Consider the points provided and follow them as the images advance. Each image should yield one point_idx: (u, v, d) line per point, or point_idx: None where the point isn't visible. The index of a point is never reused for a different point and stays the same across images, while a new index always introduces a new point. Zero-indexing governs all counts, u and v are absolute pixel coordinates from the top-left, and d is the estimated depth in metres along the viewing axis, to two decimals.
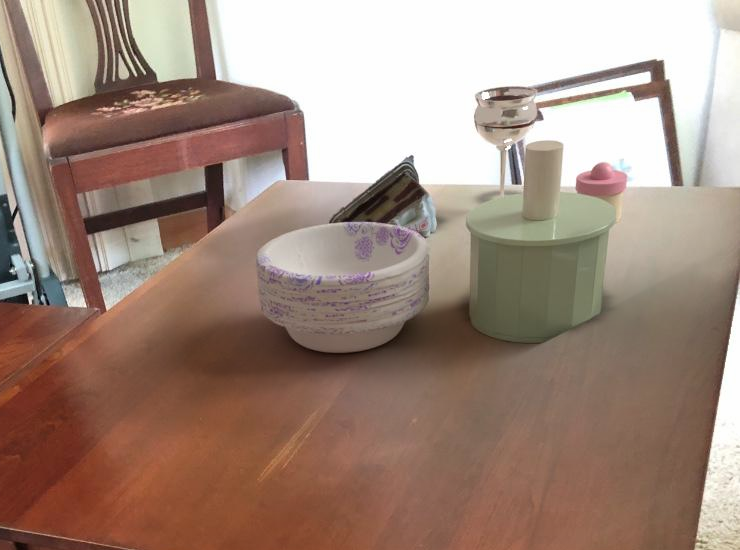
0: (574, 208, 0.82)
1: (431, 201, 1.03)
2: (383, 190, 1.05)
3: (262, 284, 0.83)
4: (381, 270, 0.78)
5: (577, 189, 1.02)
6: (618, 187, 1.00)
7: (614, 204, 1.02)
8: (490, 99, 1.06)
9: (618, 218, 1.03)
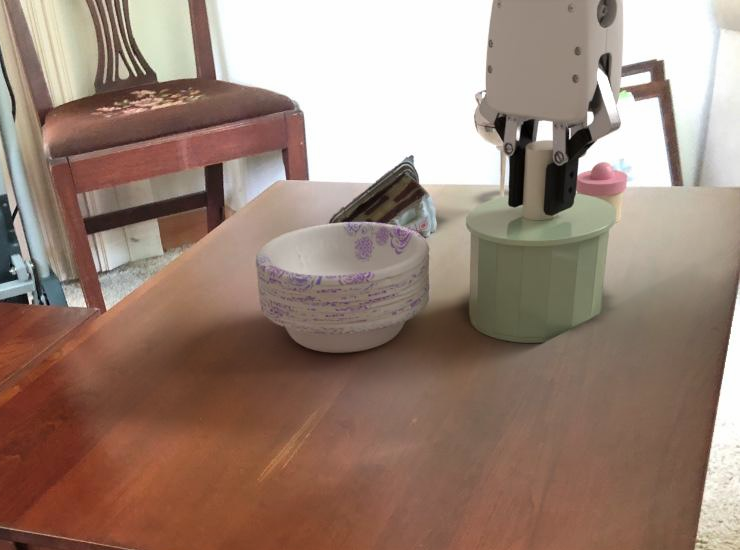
0: (574, 208, 0.82)
1: (431, 201, 1.03)
2: (383, 190, 1.05)
3: (262, 284, 0.83)
4: (381, 270, 0.78)
5: (577, 189, 1.02)
6: (618, 187, 1.00)
7: (614, 204, 1.02)
8: None
9: (618, 218, 1.03)
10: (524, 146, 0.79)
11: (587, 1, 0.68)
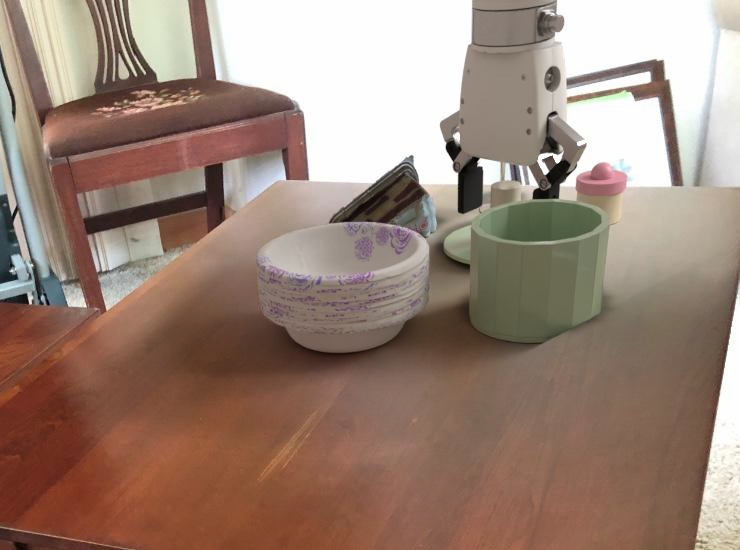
0: None
1: (431, 201, 1.03)
2: (383, 190, 1.05)
3: (262, 284, 0.83)
4: (381, 270, 0.78)
5: (577, 189, 1.02)
6: (618, 187, 1.00)
7: (614, 204, 1.02)
8: None
9: (618, 218, 1.03)
10: (469, 164, 0.98)
11: (536, 72, 0.86)
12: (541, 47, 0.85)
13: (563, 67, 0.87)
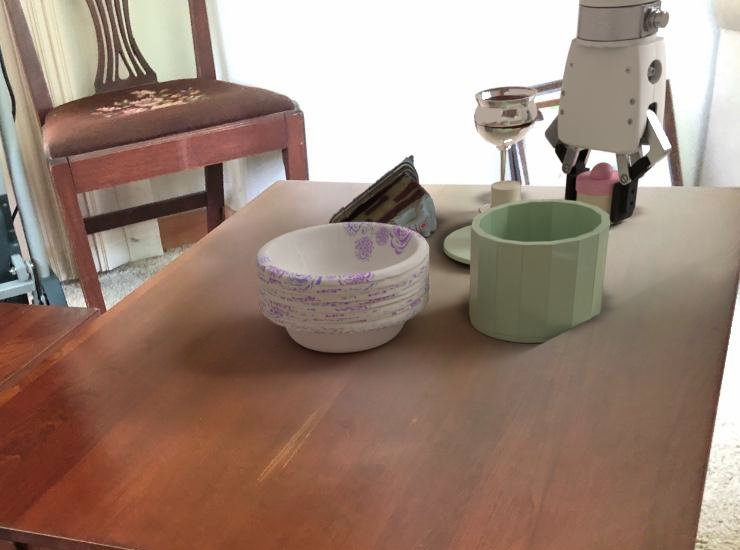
0: None
1: (431, 201, 1.03)
2: (383, 190, 1.05)
3: (262, 284, 0.83)
4: (381, 270, 0.78)
5: (577, 189, 1.02)
6: None
7: None
8: (490, 99, 1.06)
9: None
10: (578, 166, 1.03)
11: (640, 65, 0.91)
12: (645, 42, 0.91)
13: (664, 60, 0.93)
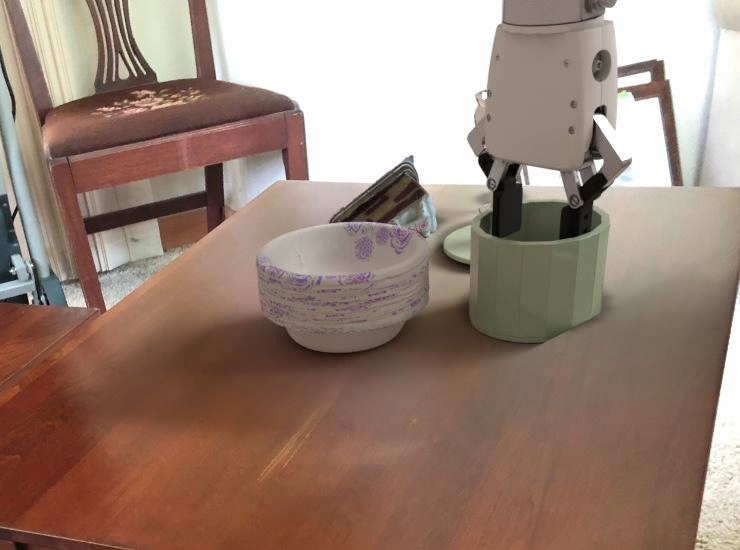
0: None
1: (431, 201, 1.03)
2: (383, 190, 1.05)
3: (262, 284, 0.83)
4: (381, 270, 0.78)
5: None
6: None
7: None
8: None
9: None
10: (506, 181, 0.82)
11: (582, 57, 0.70)
12: (588, 26, 0.70)
13: (614, 51, 0.71)
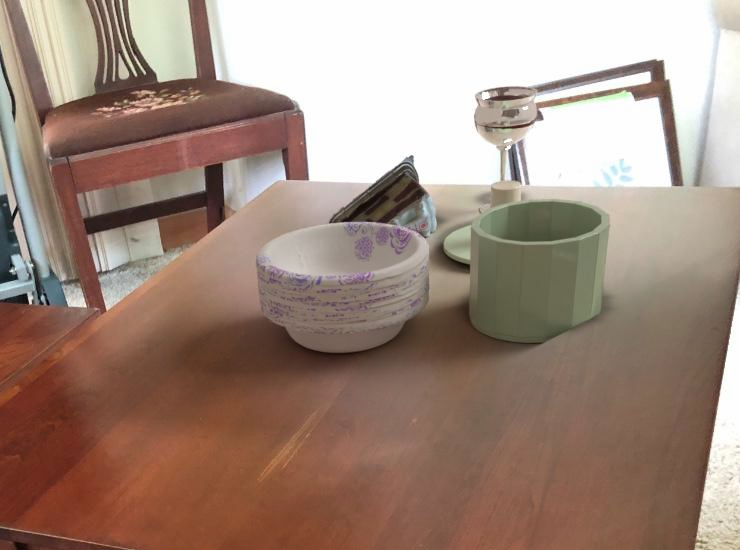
0: None
1: (431, 201, 1.03)
2: (383, 190, 1.05)
3: (262, 284, 0.83)
4: (381, 270, 0.78)
5: None
6: None
7: None
8: (490, 99, 1.06)
9: None
10: None
11: None
12: None
13: None
